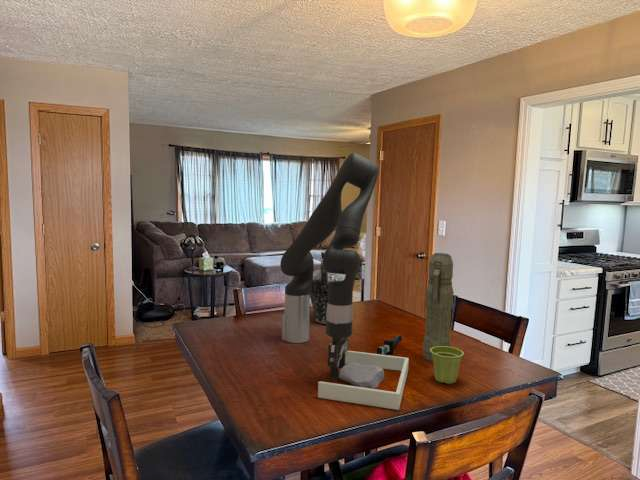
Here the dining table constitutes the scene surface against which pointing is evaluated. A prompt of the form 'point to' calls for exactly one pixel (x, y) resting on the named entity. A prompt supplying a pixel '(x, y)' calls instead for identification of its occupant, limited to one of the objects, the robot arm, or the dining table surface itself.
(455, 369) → the plant pot
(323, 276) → the jug
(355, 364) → the stone block
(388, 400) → the cream u-shaped barrier
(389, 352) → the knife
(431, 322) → the stone statue
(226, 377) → the dining table surface
